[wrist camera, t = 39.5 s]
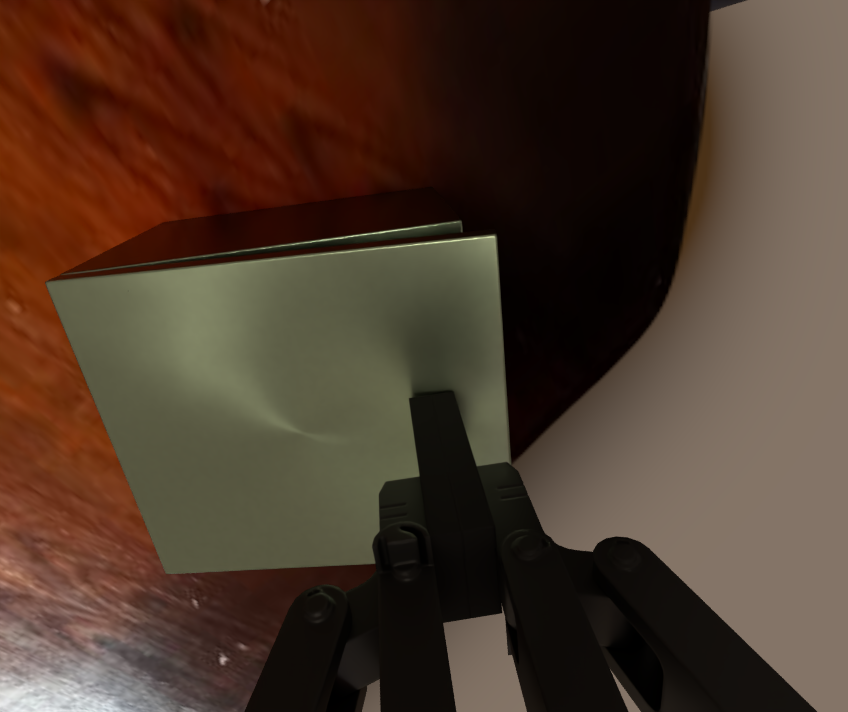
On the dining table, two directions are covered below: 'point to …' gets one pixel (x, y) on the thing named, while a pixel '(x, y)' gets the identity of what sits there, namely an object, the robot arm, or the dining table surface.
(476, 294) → the bin lid
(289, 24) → the dining table surface
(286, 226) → the grey green storage bin
